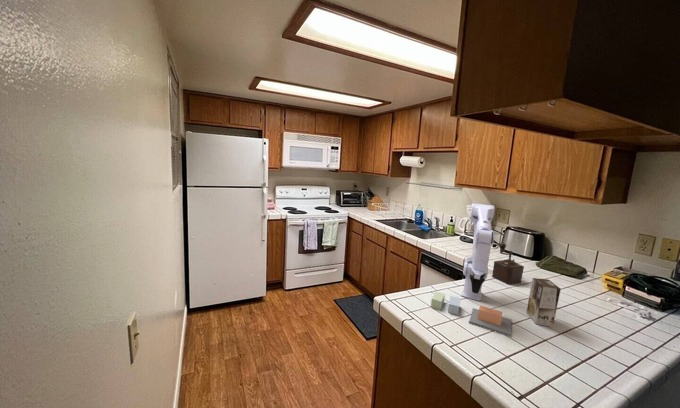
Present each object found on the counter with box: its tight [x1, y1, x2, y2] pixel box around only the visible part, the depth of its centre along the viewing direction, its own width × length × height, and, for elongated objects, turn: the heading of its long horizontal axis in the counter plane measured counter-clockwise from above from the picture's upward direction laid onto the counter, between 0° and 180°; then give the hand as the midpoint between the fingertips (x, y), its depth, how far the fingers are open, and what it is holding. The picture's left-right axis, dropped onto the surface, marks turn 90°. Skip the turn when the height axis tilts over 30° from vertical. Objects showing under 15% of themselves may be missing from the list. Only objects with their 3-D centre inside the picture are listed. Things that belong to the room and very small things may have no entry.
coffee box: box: [526, 277, 562, 328], centre depth 114 cm, size 9×6×16 cm
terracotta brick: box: [478, 305, 503, 326], centre depth 111 cm, size 8×4×4 cm, turn 59°
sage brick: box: [430, 291, 446, 311], centre depth 122 cm, size 8×4×4 cm, turn 150°
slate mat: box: [468, 307, 512, 337], centre depth 111 cm, size 12×14×1 cm
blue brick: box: [447, 295, 461, 316], centre depth 119 cm, size 8×4×4 cm, turn 155°
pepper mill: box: [491, 242, 525, 286], centre depth 155 cm, size 16×11×18 cm
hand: (476, 289), depth 118 cm, fingers open, 7 cm apart
